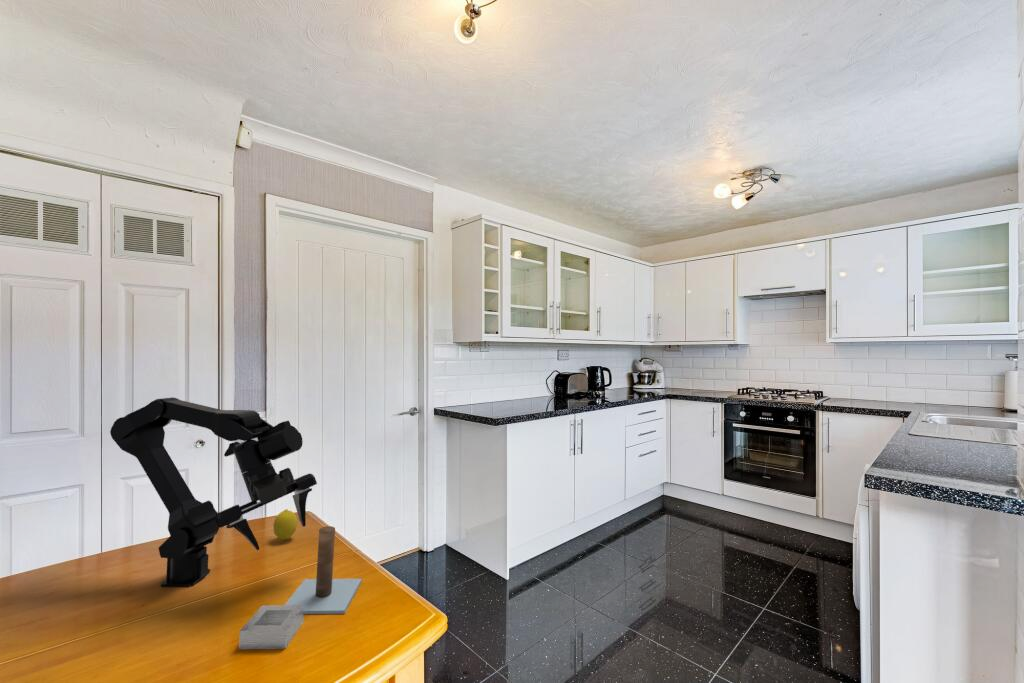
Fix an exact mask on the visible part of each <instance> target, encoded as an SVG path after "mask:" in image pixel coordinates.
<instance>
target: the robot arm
mask: <svg viewBox="0 0 1024 683" xmlns="http://www.w3.org/2000/svg"><path fill="white" fill-rule="evenodd" d="M172 421H176V422H181V423H183V424H188V425H191V426H196V427H200V428H204V429H208V430H210V431H211V432H212V433H213V434H214V435H215V436H217V437H219V438H222V439H223V440H225V441H228V442H231V443H229V444H228V447H227V449H226V450H225V452H224V455H223V456H224V457H225V458H226V457H229V456H232V455H234V457H235V460H236V461H237V465H238V468H239V470H240V473H241V475H242V479H243V482H244V484H245V487H246V490H247V492H248V496H249V498H250V502H247V503H244V504H243V505H241V506H240V505H239V504H235V505H232V506H230V507H228V508H226V509H223V510H221V511H217V510H216V509H215V507H214V504H213V502H212V501H211V500H206V501H204V502H201V501H200V500H197V499H196V497H194V495H193V494H194V493H192V492H191V490H190V488H189V486H188V484H187V482H186V481H185V479H184V477H183V476H182V474H181V473H180V471H179V469H178V467H177V466H176V464H175V463H174V461H173V459H172V457H171V456H170V454H169V453H168V451H167V449H166V448H165V446H164V441H165V437H166V436H165V435H166V432H165V429H164V427H166V426H168V425H169V424H170V423H171V422H172ZM290 422H291V421H290V420H285V421H281V422H279V423H277V424H276V425H275V426H273V425H272V424H270V423H269V422H268V421H266V420H264V419H263V418H262V417H261V416H260V413H259V412H257V411H255V410H251V409H250V410H249V409H220V408H216V407H212V406H207V405H203V404H198V403H194V402H191V401H186V400H182V399H179V398H177V397H163V398H156V399H154V400H152V401H151V402H149V403H147V404H146V405H145V406H143V407H141V408H138V409H136V410H134V411H132V412H130V413H128V414H126V415H125V416H121V417H119V418H117V419H116V420H115V421H114V422H113V423H112V425H111V428H110V431H109V433H110V436H111V439H112V440H113V441H114V442H115V444H116V445H117V446H118V447H119V449H120V450H122V451H123V452H126V453H127V454H129V455H131V456H133V457H134V458H136V459H137V461H138V462H139V464H140V466H141V468H142V469H143V471H144V472H145V474H146V476H147V478H148V479H149V481H150V483H151V484H152V486H153V488H154V490H155V491H156V492H157V494H158V496H159V498H160V500H161V501H162V503H163V505H164V507H165V508H166V510H167V512H168V514H169V515H168V523H167V530H168V533H169V535H170V536H169V537H168V538H166V540H164V541H163V543H162V544H160V546H158V552H159V556H160V558H162V559H163V558H164V559H166V576H165V580H163V581H162V582H161V583H160V586H161V587H191V586H194V585H195V584H197V583H198V582H199V581H200V580H201V579H203V578H204V577H205V576H207V574H209V573H210V572H211V569H210V568H209V554H208V553H207V551H208V550H207V549H208V546H207V545H209V544H212V543H213V542H214V539H215V536H216V535H217V534H218V533H219V530H220V528H221V529H222V528H223V527H226V529H233V528H234V529H235V530H237V531H238V532H239V533H240V534H241V535H242V536H244V538H245V539H246V540H247V541H248V542H249V543H250V544H251V545H252V547H254V548H255V550H256V551H260V549H261V548H260V546H259V543H258V541H257V539H256V537H255V535H254V532H253V531H252V528H251V527H250V524H249V523H248V519H247V518H243V516H244V515H245V514H247V513H250V512H253V511H254V510H256V509H258V508H261V507H263V506H266V505H267V504H269V503H272V502H274V501H276V500H278V499H280V498H283V497H285V496H287V495H289V494H291V493H294V494H292V499H293V502H294V505H295V510H296V513H297V516H298V519H299V522H300V524H301V526H302V527H306V521H307V520H306V515H307V514H306V513H307V512H306V507H307V500H308V495H309V493H311V492H312V491H313V488H312V487H313V486H315V485H317V484H318V482H317V479H316V477H315V475H314V474H312V473H306V474H303V475H302V476H299V477H297V478H294V475H293V472H292V470H291V468H289V467H286V468H284V469H281V470H279V471H278V473H277V472H276V470H275V467H274V466H273V463H272V462H271V461H277V460H279V459H280V458H283V457H285V456H288V455H290V454H293V453H295V452H298V451H300V450H301V449H302V447H303V437H302V436H303V435H302V434H301V432H299V429H297V428H296V427H295V426H293V425H291V423H290ZM255 439H257V440H255ZM239 440H240V441H242V442H238V441H239ZM258 501H259V502H258Z"/></svg>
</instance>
